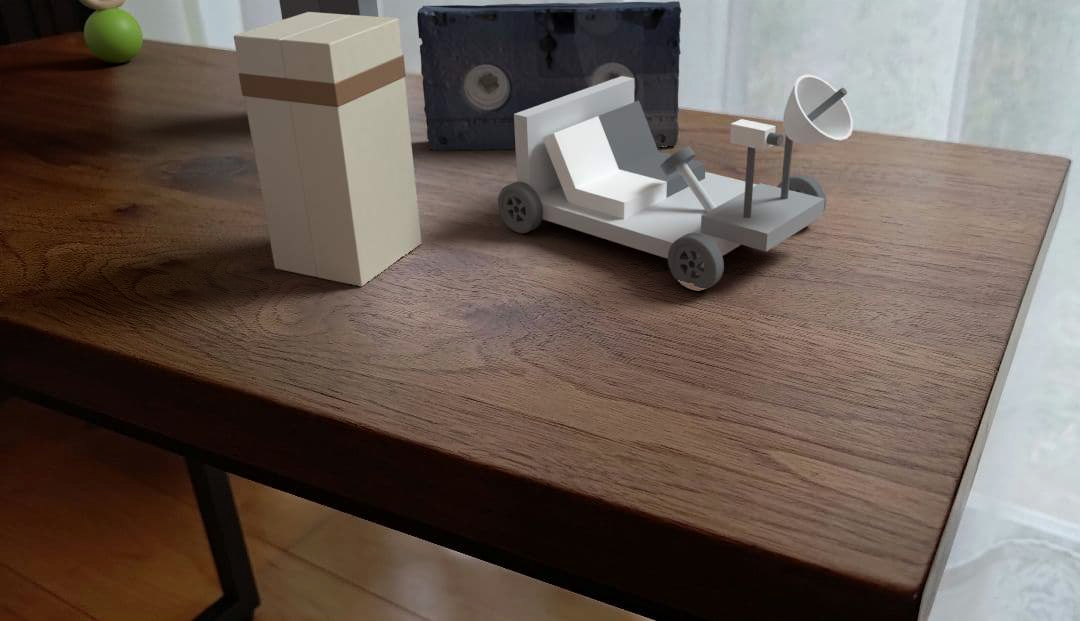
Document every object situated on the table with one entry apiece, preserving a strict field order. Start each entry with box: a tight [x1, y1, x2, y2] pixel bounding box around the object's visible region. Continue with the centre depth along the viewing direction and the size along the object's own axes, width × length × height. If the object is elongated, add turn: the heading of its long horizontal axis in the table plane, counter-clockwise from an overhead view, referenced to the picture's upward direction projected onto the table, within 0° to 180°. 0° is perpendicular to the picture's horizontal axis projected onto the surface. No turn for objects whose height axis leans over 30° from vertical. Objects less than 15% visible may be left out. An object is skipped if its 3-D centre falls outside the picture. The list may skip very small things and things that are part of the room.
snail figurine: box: [78, 0, 144, 64], centre depth 98 cm, size 5×6×12 cm
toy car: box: [497, 74, 854, 290], centre depth 56 cm, size 18×10×12 cm
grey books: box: [278, 0, 379, 20], centre depth 78 cm, size 6×6×14 cm
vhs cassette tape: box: [416, 0, 682, 151], centre depth 71 cm, size 18×3×10 cm, turn 84°
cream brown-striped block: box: [233, 12, 422, 287], centre depth 54 cm, size 6×6×13 cm
